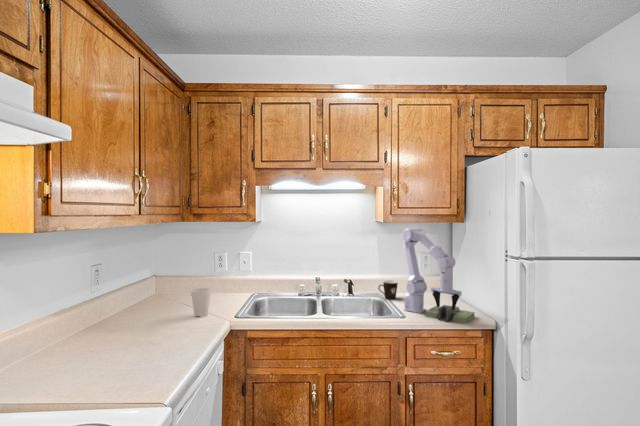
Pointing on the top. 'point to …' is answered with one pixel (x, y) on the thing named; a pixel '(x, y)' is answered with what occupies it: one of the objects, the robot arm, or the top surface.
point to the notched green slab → (458, 316)
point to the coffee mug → (389, 289)
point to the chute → (445, 313)
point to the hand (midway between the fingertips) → (445, 308)
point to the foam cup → (200, 301)
